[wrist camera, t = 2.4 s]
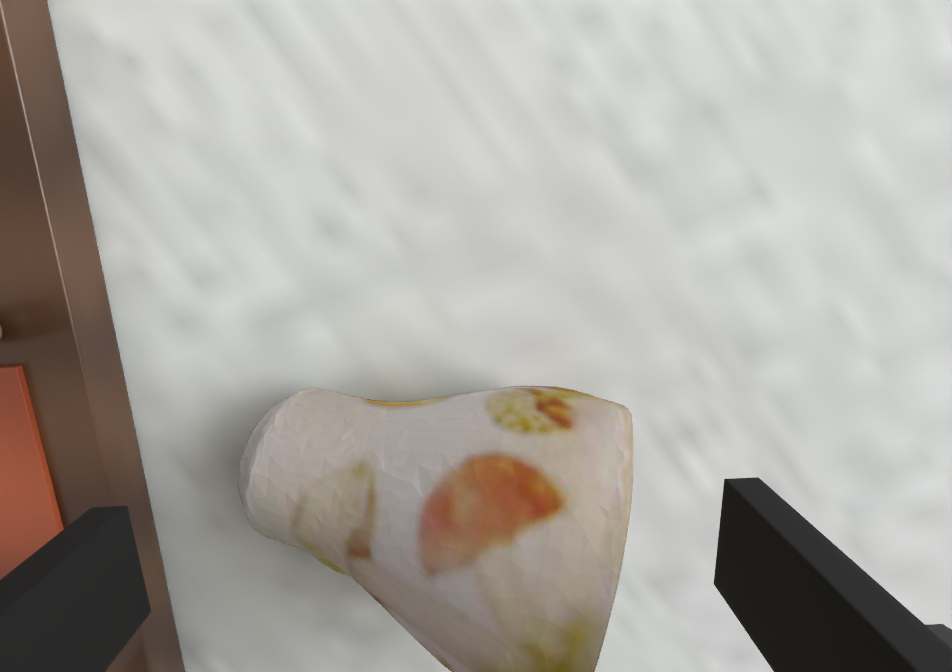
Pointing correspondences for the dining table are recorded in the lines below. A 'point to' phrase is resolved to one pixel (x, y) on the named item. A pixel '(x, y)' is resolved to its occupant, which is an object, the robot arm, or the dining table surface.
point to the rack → (61, 339)
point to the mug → (458, 514)
